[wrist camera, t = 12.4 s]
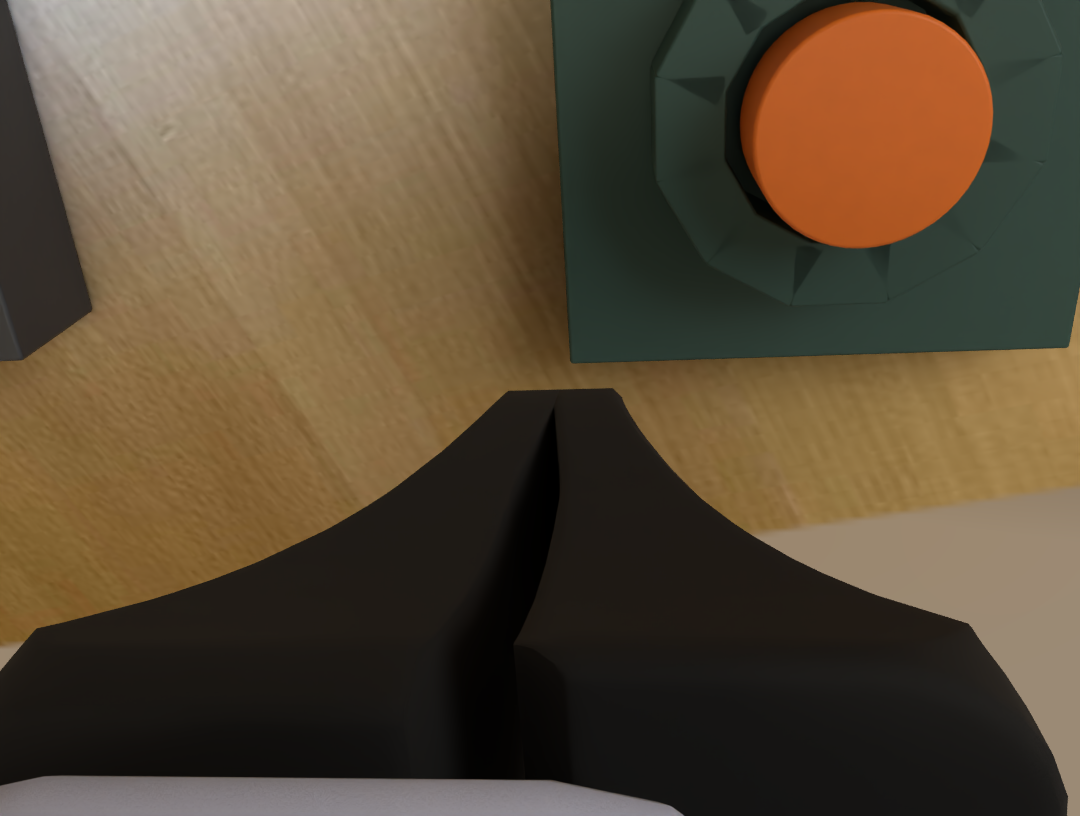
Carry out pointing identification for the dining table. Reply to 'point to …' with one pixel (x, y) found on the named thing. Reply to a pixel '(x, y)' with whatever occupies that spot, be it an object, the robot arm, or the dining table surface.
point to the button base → (757, 230)
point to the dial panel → (31, 220)
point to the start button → (866, 123)
